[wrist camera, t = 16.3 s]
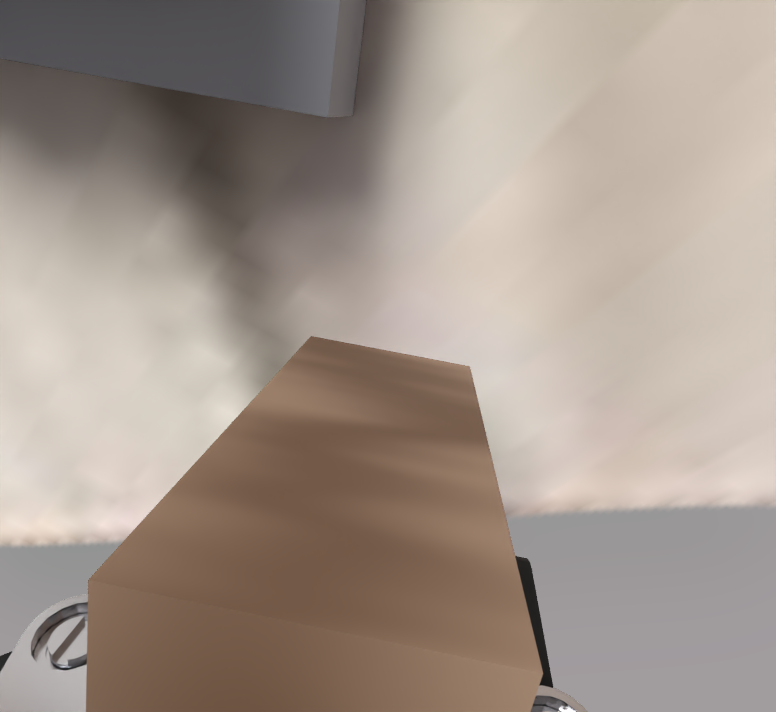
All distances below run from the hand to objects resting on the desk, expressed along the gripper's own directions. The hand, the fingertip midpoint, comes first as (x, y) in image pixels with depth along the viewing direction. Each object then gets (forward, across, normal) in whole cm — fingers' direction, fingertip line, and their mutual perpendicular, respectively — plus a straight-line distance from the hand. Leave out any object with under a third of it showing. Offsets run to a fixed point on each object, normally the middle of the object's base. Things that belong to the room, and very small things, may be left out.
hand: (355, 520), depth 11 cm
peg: (+3, 0, 0) cm, 3 cm away
